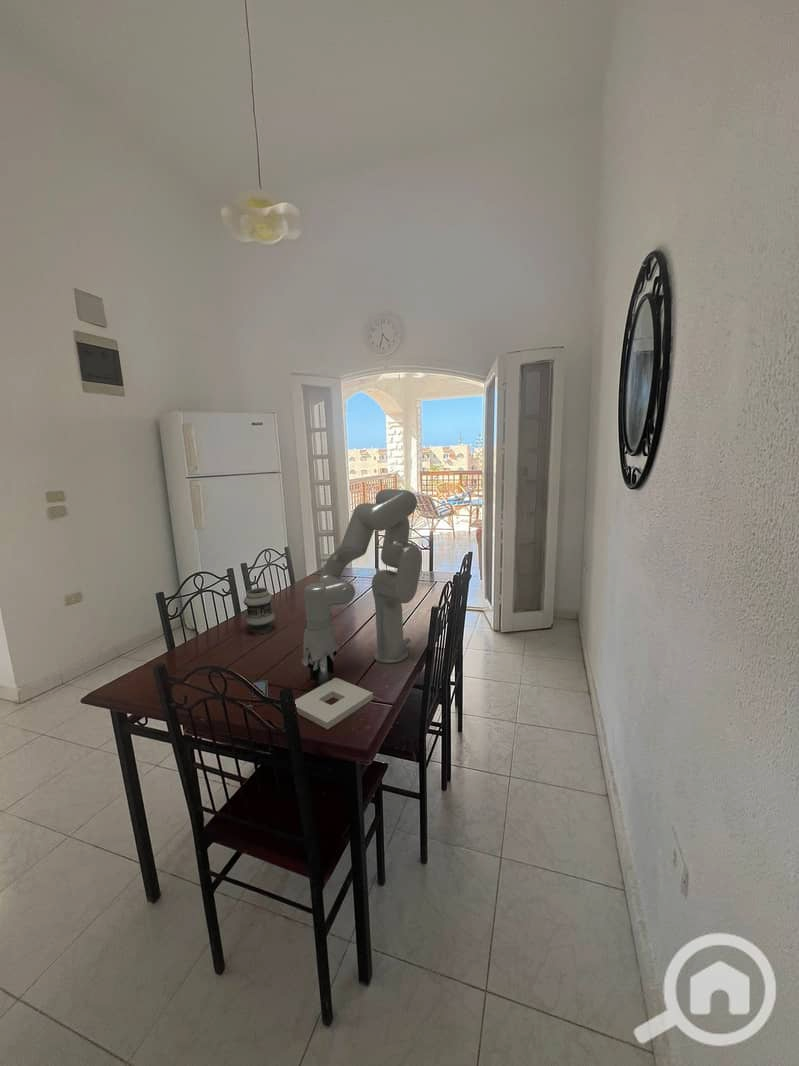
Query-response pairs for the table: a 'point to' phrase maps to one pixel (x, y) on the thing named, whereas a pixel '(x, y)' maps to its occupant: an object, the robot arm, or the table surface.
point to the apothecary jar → (259, 610)
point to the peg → (322, 670)
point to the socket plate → (328, 714)
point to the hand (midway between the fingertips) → (322, 675)
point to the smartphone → (261, 687)
